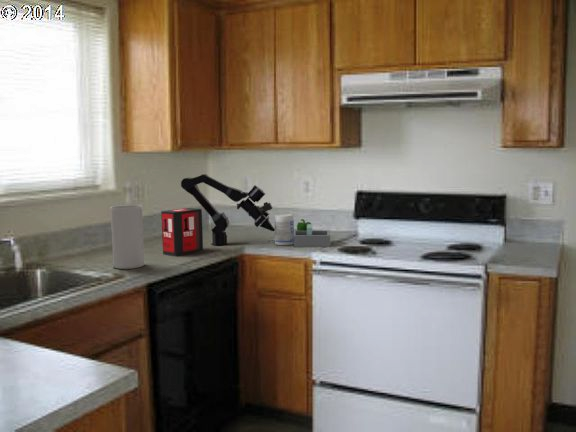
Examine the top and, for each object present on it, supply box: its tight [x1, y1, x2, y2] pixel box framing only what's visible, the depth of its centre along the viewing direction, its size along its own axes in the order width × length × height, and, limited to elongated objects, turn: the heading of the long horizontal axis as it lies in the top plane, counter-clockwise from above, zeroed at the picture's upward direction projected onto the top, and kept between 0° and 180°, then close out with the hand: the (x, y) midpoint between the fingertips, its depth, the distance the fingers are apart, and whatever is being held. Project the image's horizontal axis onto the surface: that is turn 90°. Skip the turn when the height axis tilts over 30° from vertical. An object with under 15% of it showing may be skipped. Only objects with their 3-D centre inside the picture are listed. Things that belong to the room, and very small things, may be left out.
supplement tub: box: [274, 213, 295, 246], centre depth 300 cm, size 10×10×15 cm
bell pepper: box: [296, 218, 312, 231], centre depth 322 cm, size 8×8×10 cm
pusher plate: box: [307, 223, 313, 235], centre depth 300 cm, size 2×13×9 cm, turn 177°
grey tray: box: [293, 230, 331, 248], centre depth 300 cm, size 18×17×6 cm
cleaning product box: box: [160, 207, 204, 257], centre depth 282 cm, size 16×9×20 cm, turn 139°
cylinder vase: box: [110, 204, 145, 270], centre depth 251 cm, size 12×12×25 cm
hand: (274, 230), depth 301 cm, fingers closed
